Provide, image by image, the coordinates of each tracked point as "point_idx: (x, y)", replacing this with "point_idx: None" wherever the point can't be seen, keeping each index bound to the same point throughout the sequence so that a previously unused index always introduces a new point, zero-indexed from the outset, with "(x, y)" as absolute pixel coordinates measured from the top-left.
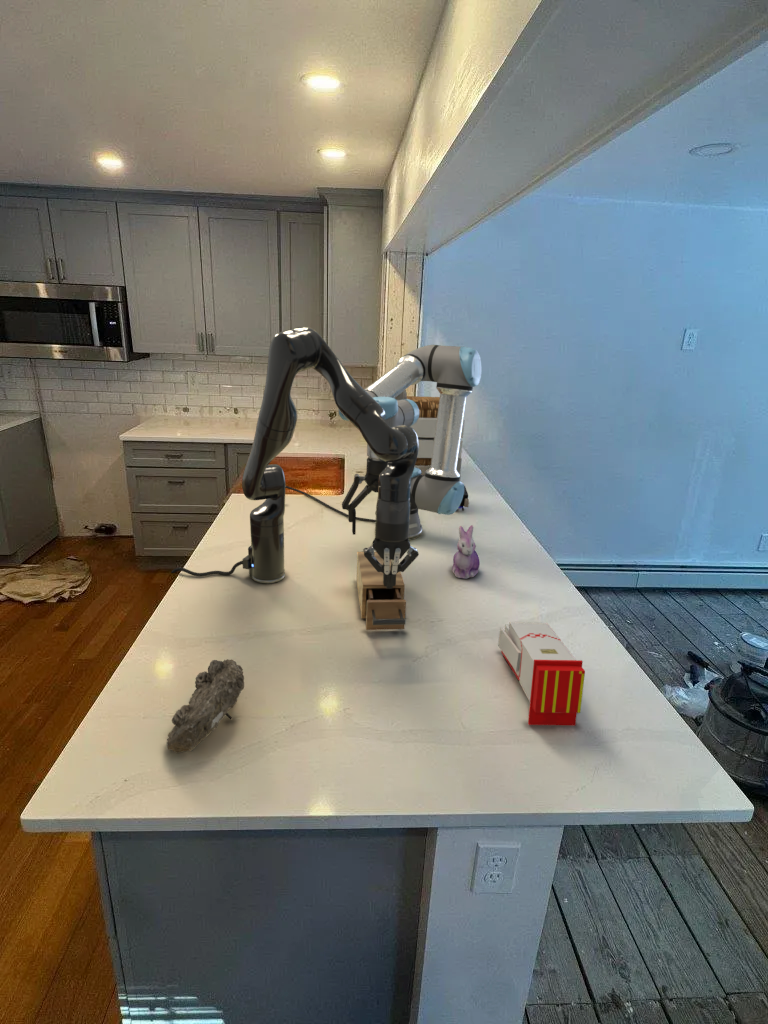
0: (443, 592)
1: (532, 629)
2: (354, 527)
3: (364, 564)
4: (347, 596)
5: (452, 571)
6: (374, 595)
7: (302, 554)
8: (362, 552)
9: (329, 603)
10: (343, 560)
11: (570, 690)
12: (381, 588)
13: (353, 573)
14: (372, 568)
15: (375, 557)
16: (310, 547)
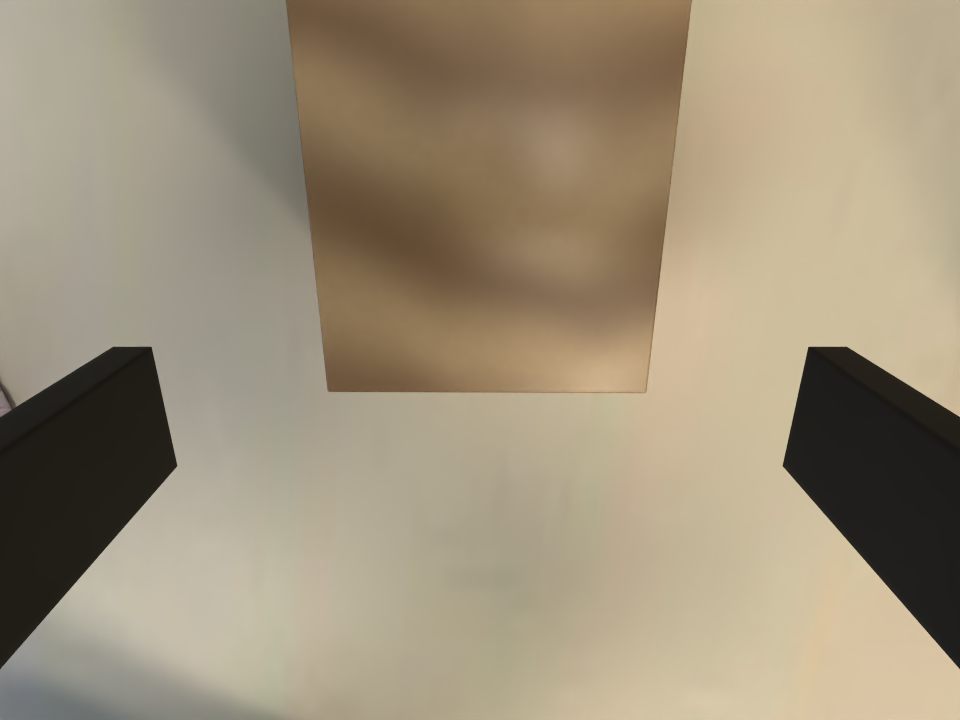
0: (56, 152)
1: None
2: (890, 392)
3: (629, 114)
4: (681, 115)
5: (10, 409)
6: None
7: (836, 620)
8: (604, 375)
9: (818, 15)
10: (631, 555)
11: None
12: None
13: (598, 412)
14: (564, 11)
15: (503, 273)
16: (778, 685)
